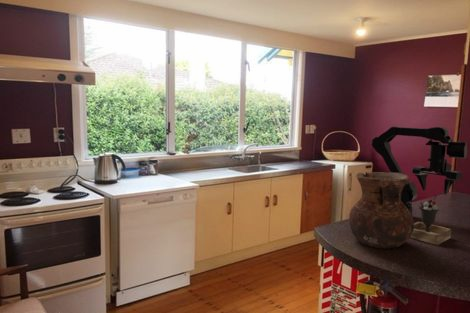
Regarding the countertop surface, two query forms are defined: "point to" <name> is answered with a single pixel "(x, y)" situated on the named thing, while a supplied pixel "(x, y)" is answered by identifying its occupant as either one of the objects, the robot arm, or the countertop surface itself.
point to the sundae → (428, 213)
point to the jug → (381, 211)
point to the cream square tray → (435, 235)
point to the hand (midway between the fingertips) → (434, 192)
